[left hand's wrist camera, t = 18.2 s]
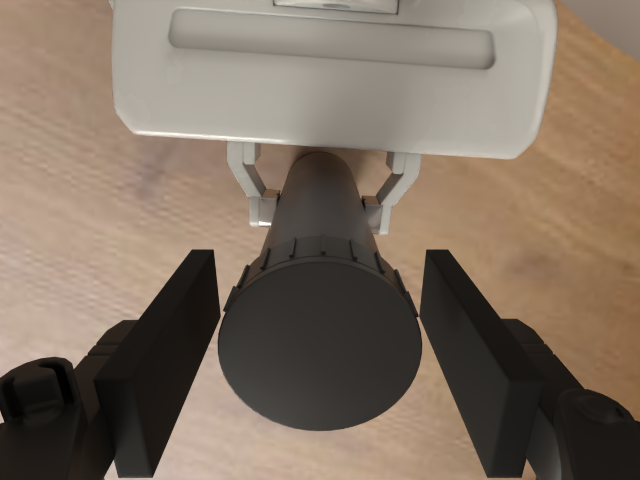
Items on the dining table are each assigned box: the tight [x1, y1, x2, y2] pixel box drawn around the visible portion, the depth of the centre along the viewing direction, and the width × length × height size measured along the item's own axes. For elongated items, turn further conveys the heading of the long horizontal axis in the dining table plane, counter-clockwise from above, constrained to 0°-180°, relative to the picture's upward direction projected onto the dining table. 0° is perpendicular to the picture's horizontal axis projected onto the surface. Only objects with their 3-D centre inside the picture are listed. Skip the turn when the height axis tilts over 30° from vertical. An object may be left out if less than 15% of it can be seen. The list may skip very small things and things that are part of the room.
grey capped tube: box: [260, 152, 379, 256], centre depth 19 cm, size 5×5×18 cm
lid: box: [218, 234, 422, 431], centre depth 11 cm, size 6×6×2 cm
